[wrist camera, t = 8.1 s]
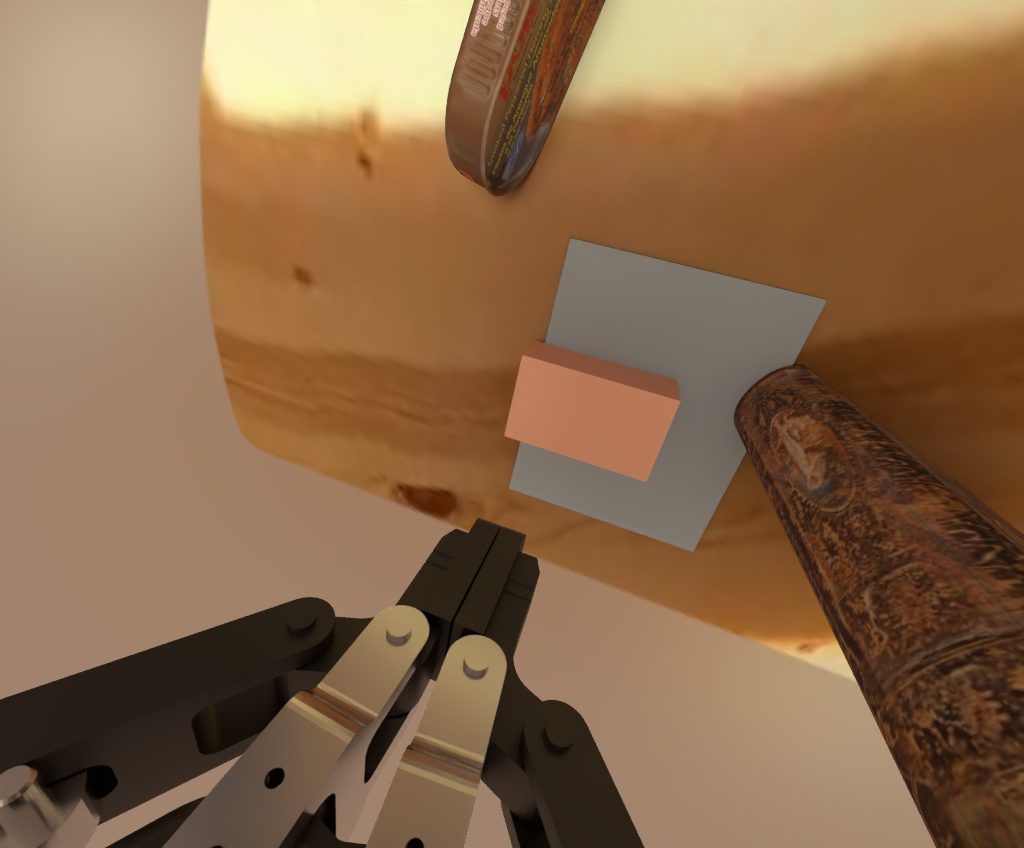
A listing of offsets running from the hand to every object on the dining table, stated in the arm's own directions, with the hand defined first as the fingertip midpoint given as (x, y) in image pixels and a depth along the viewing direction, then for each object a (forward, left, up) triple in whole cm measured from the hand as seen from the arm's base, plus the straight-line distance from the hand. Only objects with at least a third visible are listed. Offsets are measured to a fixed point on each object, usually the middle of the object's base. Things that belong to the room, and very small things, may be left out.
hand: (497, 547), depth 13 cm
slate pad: (-5, +2, -21) cm, 21 cm away
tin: (+7, -17, -21) cm, 27 cm away
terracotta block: (+4, +2, -18) cm, 19 cm away
